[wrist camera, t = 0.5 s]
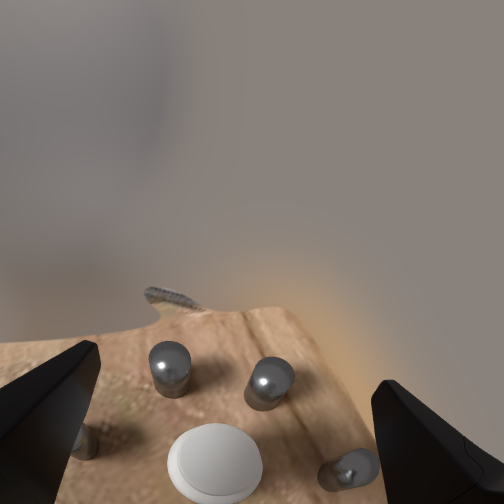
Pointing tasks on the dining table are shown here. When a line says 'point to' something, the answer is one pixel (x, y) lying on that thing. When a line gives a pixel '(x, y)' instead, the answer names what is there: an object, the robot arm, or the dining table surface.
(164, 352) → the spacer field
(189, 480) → the supplement bottle
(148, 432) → the dining table surface
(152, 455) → the dining table surface
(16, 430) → the robot arm
